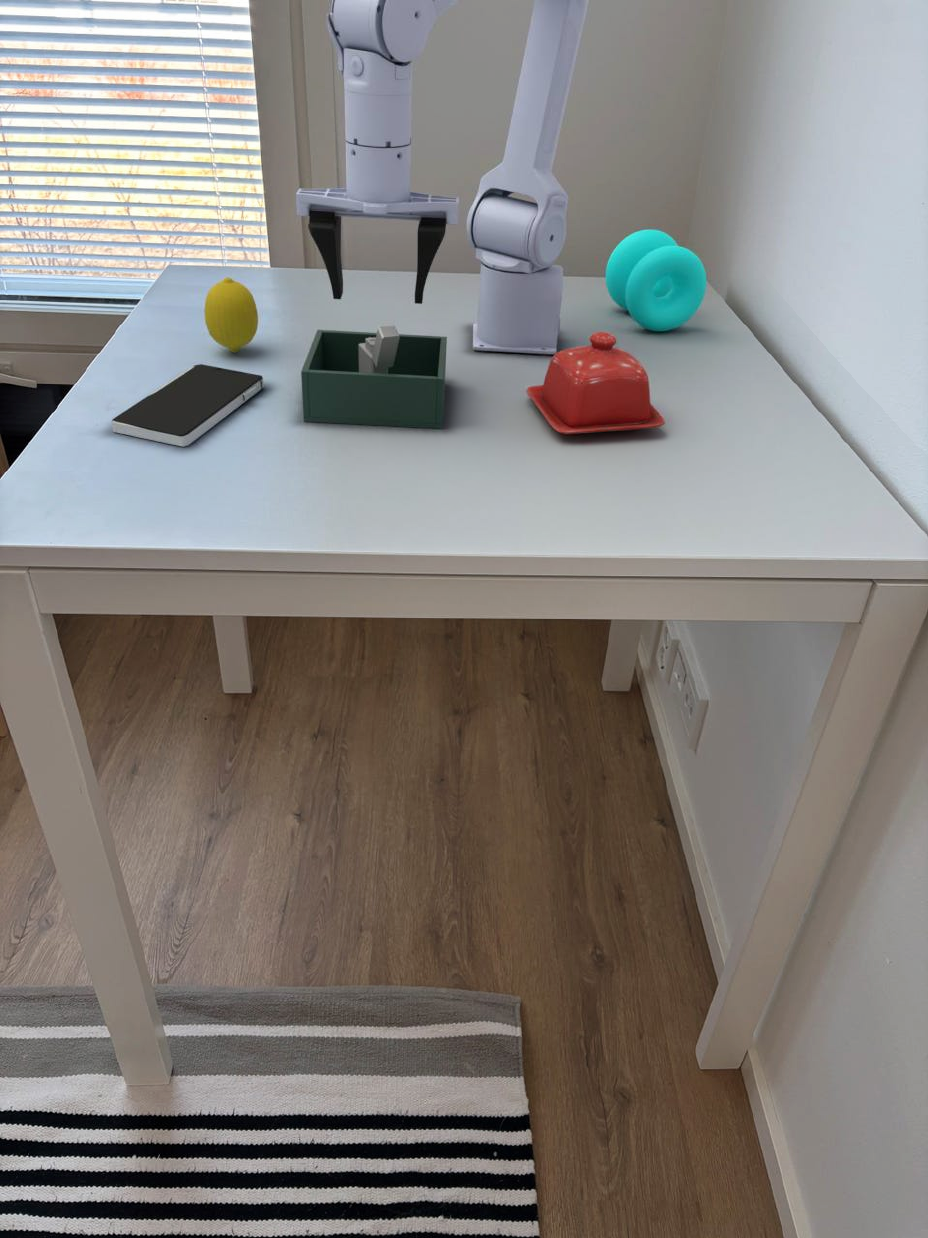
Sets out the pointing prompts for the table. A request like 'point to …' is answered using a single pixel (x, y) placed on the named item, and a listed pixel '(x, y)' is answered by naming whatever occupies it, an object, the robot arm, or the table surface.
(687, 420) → the table surface
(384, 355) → the grey stepped block
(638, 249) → the turquoise yoyo
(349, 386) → the bin
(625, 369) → the butter dish
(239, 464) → the table surface
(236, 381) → the smartphone
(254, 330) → the lemon
